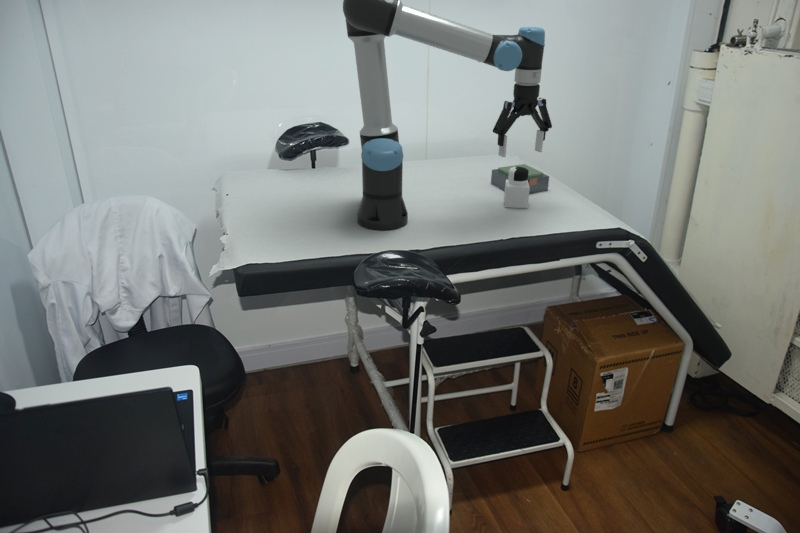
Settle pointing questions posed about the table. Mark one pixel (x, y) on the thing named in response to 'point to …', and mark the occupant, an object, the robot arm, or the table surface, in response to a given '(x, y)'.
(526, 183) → the medicine bottle
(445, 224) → the table surface
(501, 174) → the stand
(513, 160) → the table surface
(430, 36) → the robot arm
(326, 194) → the table surface
